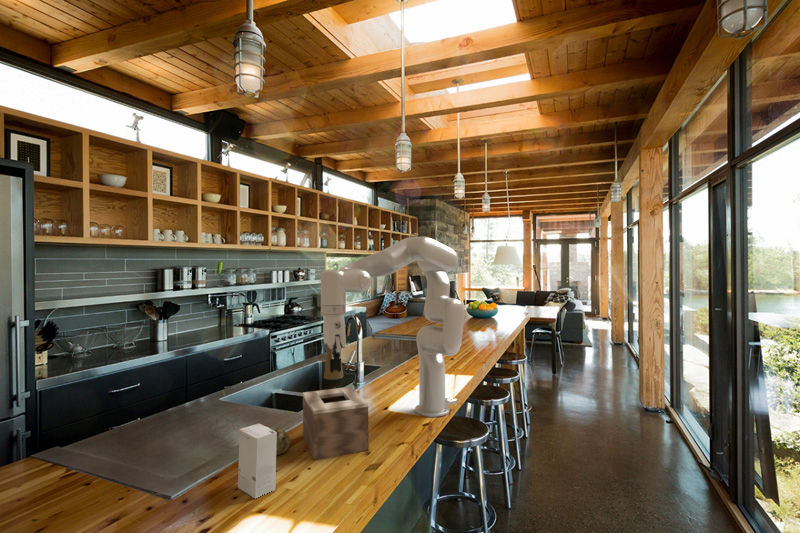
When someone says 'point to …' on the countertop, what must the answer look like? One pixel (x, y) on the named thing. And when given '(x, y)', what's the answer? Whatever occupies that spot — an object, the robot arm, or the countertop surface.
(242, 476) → the skincare box
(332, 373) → the brown rounded upright piece
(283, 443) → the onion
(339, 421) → the drop box
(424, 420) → the countertop surface
